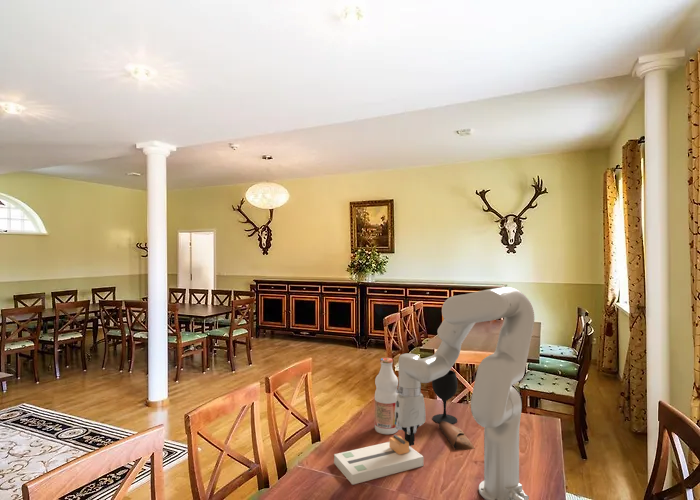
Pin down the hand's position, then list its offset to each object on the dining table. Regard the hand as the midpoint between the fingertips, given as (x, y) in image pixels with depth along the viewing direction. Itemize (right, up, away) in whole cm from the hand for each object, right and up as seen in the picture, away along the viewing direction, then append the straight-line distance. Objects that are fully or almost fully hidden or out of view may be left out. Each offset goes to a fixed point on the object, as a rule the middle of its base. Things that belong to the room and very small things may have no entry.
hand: (409, 443), depth 142 cm
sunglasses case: (+20, -5, +14) cm, 25 cm away
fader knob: (-4, -1, -2) cm, 4 cm away
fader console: (-11, -4, -5) cm, 13 cm away
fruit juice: (-6, -5, +21) cm, 23 cm away
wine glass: (+19, -5, +31) cm, 37 cm away
